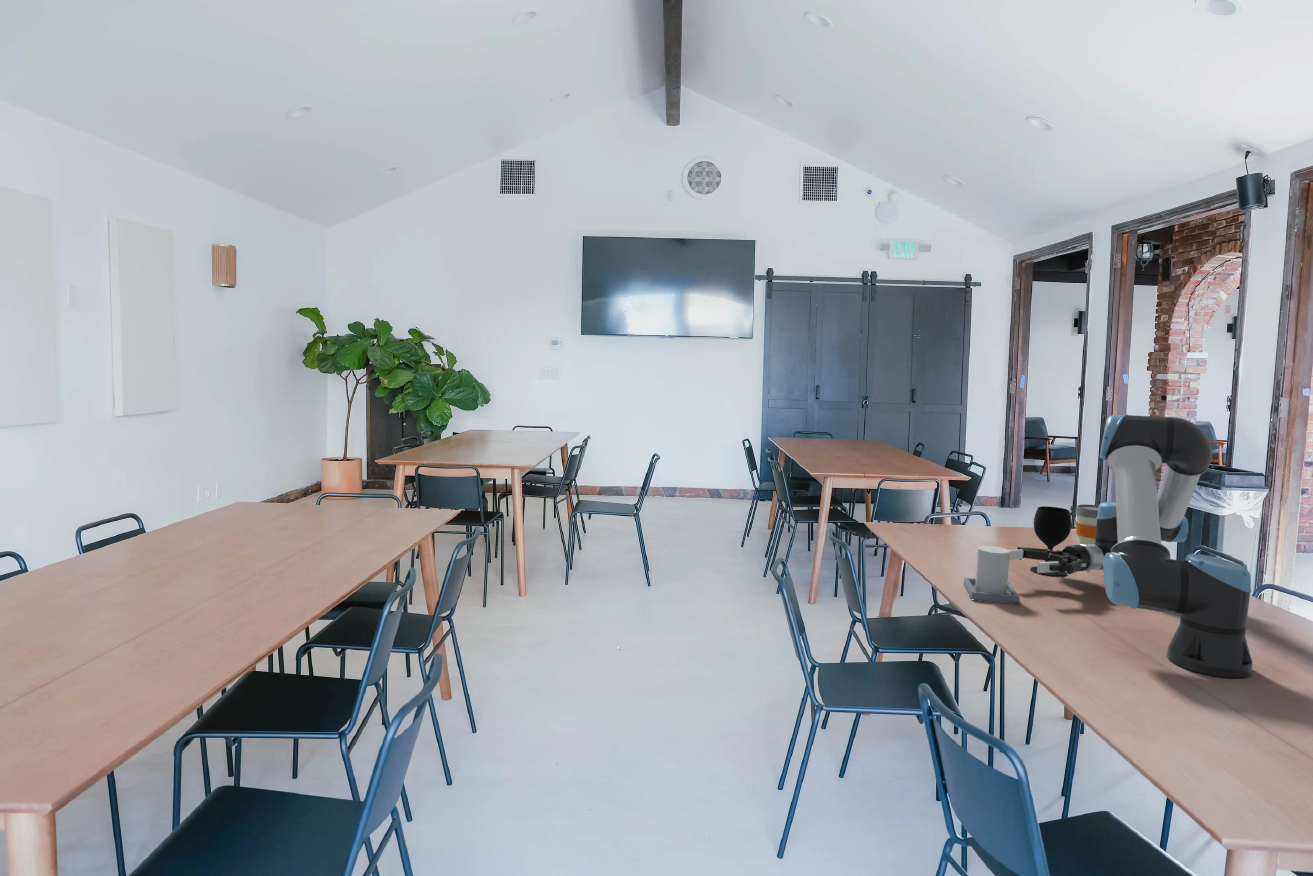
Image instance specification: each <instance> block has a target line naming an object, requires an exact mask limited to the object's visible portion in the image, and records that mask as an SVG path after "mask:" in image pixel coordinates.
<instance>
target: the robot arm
mask: <svg viewBox="0 0 1313 876" xmlns="http://www.w3.org/2000/svg"><path fill="white" fill-rule="evenodd" d="M1100 446H1101V447H1100V453H1099V458H1100V459H1101V460H1104V461H1107V466H1108V467H1109V469H1111V470H1112V471H1113V472H1114V487H1115V502H1110V501H1105V502H1101V503H1100V504H1098V505H1099V507H1098V514H1097V524H1096V537H1095V544H1081V545H1078V544H1072V545H1071V544H1069V545H1067V546H1065V547H1064V548H1063V549H1062V550H1058V549H1057V550H1052V549H1048V548H1036V547H1035V548H1034V547H1021V546H1018V547H1016V549H1008V550H1009V551H1010V557H1009V561H1010V560H1012V561H1013V560H1015V561H1016V560H1019V561H1022V560H1023V559H1029V560H1037V561H1038V560H1039V561H1040V562H1037V566H1038V567H1037V566H1036V567H1037V572H1038V573H1046V572H1059V571H1060V572H1066V573H1067V575H1072V574H1075V573H1078V572H1084V571H1086V572H1087V573H1090V572H1091V571H1099V570H1101V571H1102V573H1103V574H1102V577H1103V584H1104V590H1105V593H1106V596H1107V598H1108V600H1109V601H1110V602H1111V603H1112V604H1114V605H1117V606H1121V607H1126V608H1127V607H1128V608H1130V609H1132V610H1133V609H1134V610H1135V609H1142V610H1149V611H1156V612H1162V613H1169V614H1171V613H1172V614H1178V615H1180V617H1179V618H1180V620H1179V624H1178V627H1177V628H1176V630H1175V631H1174V634H1173V637H1172V638H1171V640H1170V642H1169V643H1168V647H1167V652H1166V653H1167V654H1166V658H1167V659H1168V660H1169V661H1170V662H1172V663H1173V664H1175V665H1177V666H1179V667H1182V668H1185V669H1186V670H1190V671H1192V672H1193V671H1194V672H1196V673H1200V674H1203V675H1209V676H1214V677H1220V678H1227V679H1231V678H1232V679H1243V678H1248V677H1250V676H1251V675H1252V673H1253V666H1254V665H1253V659H1252V656H1251V653H1250V649H1249V645H1248V641H1247V637H1246V632H1247V630H1246V629H1247V626H1248V625H1247V624H1248V617H1249V616H1248V613H1249V605H1250V596H1251V593H1252V575H1251V573H1250V571H1249V570H1248V569H1247V568H1246V567H1245V566H1243V565H1240V564H1238V563H1235V562H1232V561H1230V560H1226V559H1223V558H1219V557H1215V556H1210V555H1206V554H1198V553H1188V554H1187V555H1186V556H1185V558H1184V560H1181V559H1180V560H1179V559H1173V558H1171V553H1170V551H1171V550H1169V548H1168V547H1167V546H1166V545H1164V544H1162V542H1167V543H1184V542H1186V540H1187V538H1188V533H1189V520H1188V519H1187V517H1186V516H1185V515H1186V512H1187V510H1188V507H1189V505H1190V502H1191V500H1192V497H1193V494H1194V493H1195V490H1196V487H1197V486H1198V482H1199V480H1200V477H1201V475H1203V474H1205V473H1206V472H1207V471H1208V470H1209V468H1210V466H1211V463H1212V459H1213V448H1212V444H1211V441H1210V439H1209V437H1208V436H1207V434H1206V433H1205V432H1204V431H1203V430H1202V429H1201V428H1200V427H1199V426H1198V425H1197V424H1195V423H1193V421H1192V422H1191V421H1189V420H1187V419H1184V418H1181V417H1176V416H1175V417H1173V416H1170V417H1167V416H1149V415H1134V414H1133V415H1130V414H1114V415H1110V416H1109V417H1108V418H1107V419H1106V421H1105V426H1104V430H1103V436H1102V441H1101V445H1100ZM1162 464H1166V467H1165V470H1164V474H1163V477H1162V479H1161V483H1160V485H1159V489H1158V488H1157V477H1156V471H1157V470H1158V469H1160V467H1161V466H1162ZM1157 489H1158V490H1157ZM1048 558H1050V560H1048Z"/></svg>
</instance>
